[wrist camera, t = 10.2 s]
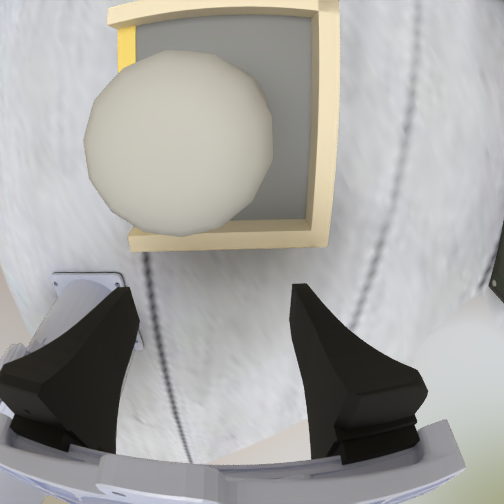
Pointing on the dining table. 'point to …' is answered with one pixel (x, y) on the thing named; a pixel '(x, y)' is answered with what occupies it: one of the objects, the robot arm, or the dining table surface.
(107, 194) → the salt shaker
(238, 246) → the tray
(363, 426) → the robot arm
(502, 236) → the boombox
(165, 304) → the dining table surface
